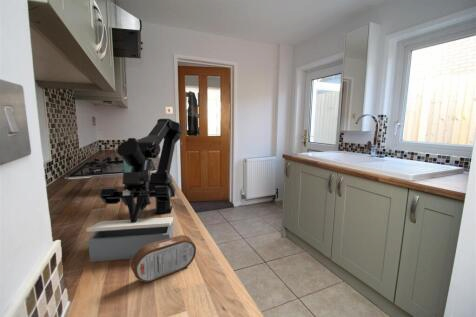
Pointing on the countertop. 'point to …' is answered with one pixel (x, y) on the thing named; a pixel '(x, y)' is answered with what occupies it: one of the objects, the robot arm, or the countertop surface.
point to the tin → (163, 258)
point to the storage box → (124, 242)
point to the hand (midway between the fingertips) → (133, 222)
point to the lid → (130, 224)
